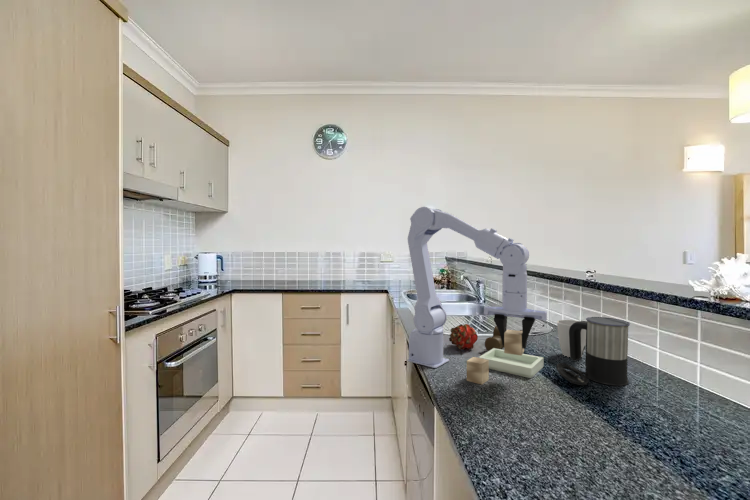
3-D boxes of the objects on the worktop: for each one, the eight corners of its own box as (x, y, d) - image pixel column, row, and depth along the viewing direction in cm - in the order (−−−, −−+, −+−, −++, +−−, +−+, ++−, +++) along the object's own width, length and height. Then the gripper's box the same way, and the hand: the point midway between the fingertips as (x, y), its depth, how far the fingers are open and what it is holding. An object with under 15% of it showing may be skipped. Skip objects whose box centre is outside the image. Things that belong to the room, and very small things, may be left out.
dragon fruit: (454, 357, 110) (466, 353, 120) (477, 344, 107) (487, 341, 117) (440, 333, 114) (453, 331, 124) (461, 319, 110) (473, 318, 120)
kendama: (477, 351, 113) (503, 337, 128) (506, 359, 107) (530, 343, 121) (477, 333, 113) (503, 321, 128) (507, 339, 106) (531, 326, 121)
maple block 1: (466, 380, 88) (466, 360, 88) (473, 376, 91) (473, 356, 91) (482, 384, 86) (482, 364, 85) (488, 379, 89) (488, 360, 88)
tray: (478, 366, 98) (478, 357, 98) (493, 356, 107) (493, 348, 107) (531, 378, 89) (531, 368, 89) (543, 366, 98) (543, 357, 98)
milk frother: (632, 378, 89) (632, 320, 88) (621, 399, 77) (621, 331, 77) (569, 365, 98) (569, 312, 98) (551, 382, 87) (551, 322, 87)
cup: (592, 360, 102) (592, 326, 102) (561, 359, 104) (561, 325, 104) (581, 352, 110) (582, 320, 110) (553, 350, 112) (553, 319, 111)
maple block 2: (504, 353, 88) (504, 332, 88) (507, 348, 91) (507, 329, 91) (521, 355, 86) (521, 335, 86) (524, 351, 89) (524, 331, 89)
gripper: (548, 291, 88) (548, 346, 88) (488, 288, 95) (488, 338, 96) (545, 295, 82) (545, 353, 82) (481, 291, 89) (481, 344, 90)
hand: (514, 345), depth 89 cm, fingers closed on maple block 2, 4 cm apart
